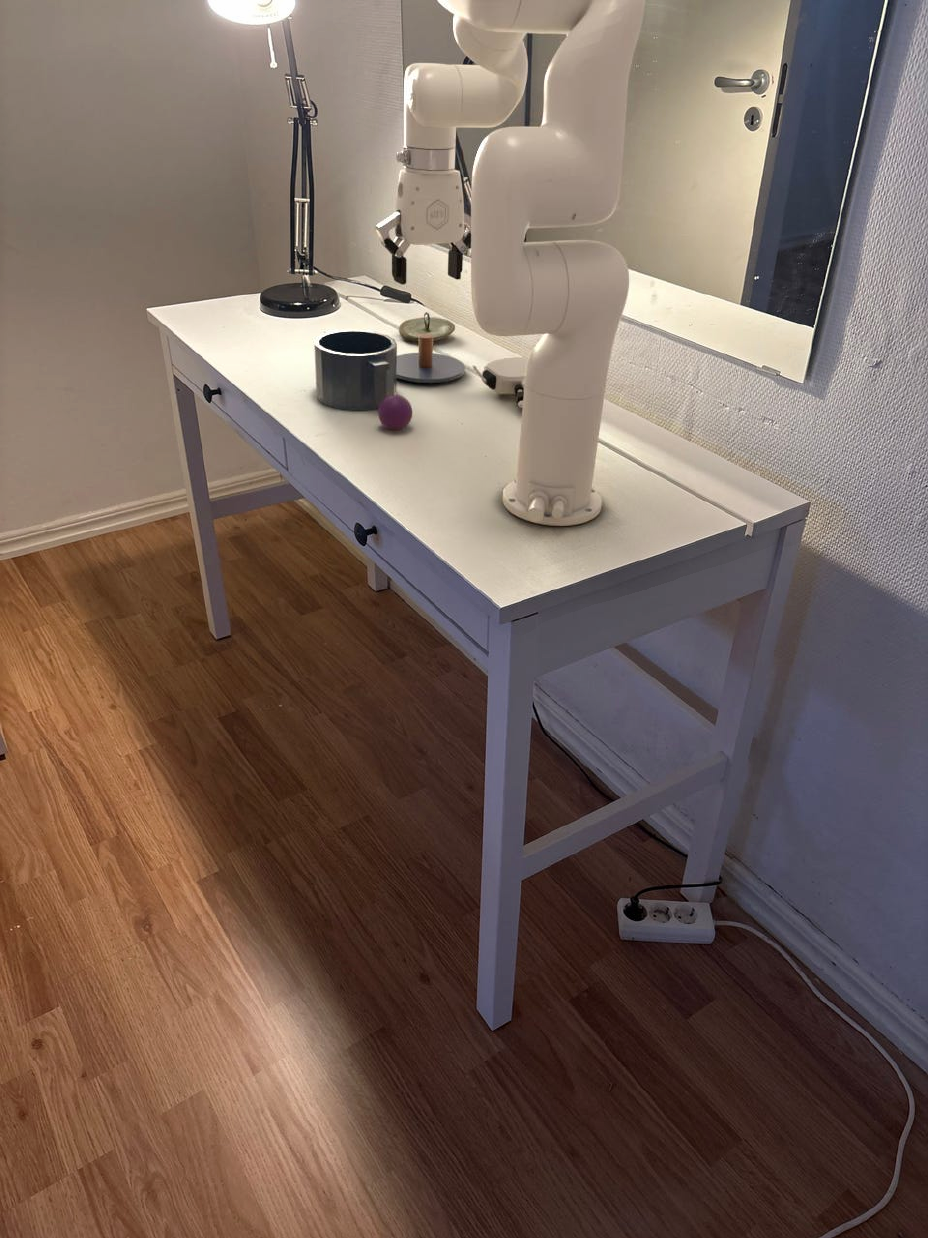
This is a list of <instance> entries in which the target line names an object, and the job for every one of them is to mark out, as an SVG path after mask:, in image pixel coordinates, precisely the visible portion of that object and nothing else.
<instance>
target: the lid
mask: <svg viewBox="0 0 928 1238" xmlns="http://www.w3.org/2000/svg"><path fill="white" fill-rule="evenodd" d="M455 329H456V325H455V324H454V323H453V322H452V321H450V320H448V319H444V318H440V317H434V316H433V317H432V316H431V315H430V313H429V312H427V311H426V312H425V313H424V315H423V317H417V318H412V319H407V320H405V321H403V322H401V324H400V325H399V327H398V333H399V335H400V336H401V337H402V338H404V339H407V340H410V341H411V340H412V341H418V342H419V335H420V334H430V335H433V341H438V340H441V339H445V338H446V337H448V336H451V334H453V333H454V332H455Z"/></svg>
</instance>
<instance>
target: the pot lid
mask: <svg viewBox="0 0 928 1238" xmlns="http://www.w3.org/2000/svg"><path fill="white" fill-rule="evenodd" d="M417 348H418V350H417V352H407V353H402V354H397V379H398V380H399V379H400V380H403V381H407V382H412V383H413V382H414V383H423V384H434V383H435V384H437V383H446V382H450V381H453V380H456V379H459V378H461V377H462V376H464V374H465V371H466V366H465V364H464V363H463V362H462V361H461V360H459V359H458V358H455V357H453V356H449V355H445V354H441V353H436V352H435V353H434V340H433V335H430V334H420V335H419V341H418V347H417Z"/></svg>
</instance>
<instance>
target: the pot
mask: <svg viewBox="0 0 928 1238" xmlns="http://www.w3.org/2000/svg"><path fill="white" fill-rule="evenodd" d="M313 343H314V344H313V345H314V346H313V347H314V348H313V349H314V366H315V368H314V369H315V370H314V371H315V372H314V373H315V392H316V398H317V400H318V401H319V402H320V403H321V404H323V405H325V406H328V407H330V408H333V409H337V410H344V411H371V410H376V409H377V410H378V407H379V405H380V403H381V401H382V400H383V399H384V398H386V397H387V396H390V395H398V394H397V393H398V392H397V388H398V387H397V386H398V385H397V384H398V383H397V382H398V380H397V379H398V378H397V356H398V344H397V341H396V339H394V338H393V337H391V336H390V335H388V334H385V333H382V332H377V331H371V330H364V329H362V330H361V329H345V330H339V329H333V330H325V331H324V334H321V335H318V336H317V337H316V338H315V339H314V342H313Z"/></svg>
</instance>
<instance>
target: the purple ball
mask: <svg viewBox="0 0 928 1238" xmlns="http://www.w3.org/2000/svg"><path fill="white" fill-rule="evenodd" d="M377 416H378V419H379V421H380V423H381V425H383V426H384V427H385V428H386V429H389V430H391V431H399V430H402V429H404V428H405V427H407V426H408V425H409V424H410V422H411V420H412V418H413V408H412V405H411V403H410V401H409V400H408V399H407V398H405V397H404V396H402V395H400V394H396V395H390V396H387V397H386V398H384V399H383V400H382V401H381V403H380V405H379V407H378V409H377Z"/></svg>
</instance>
